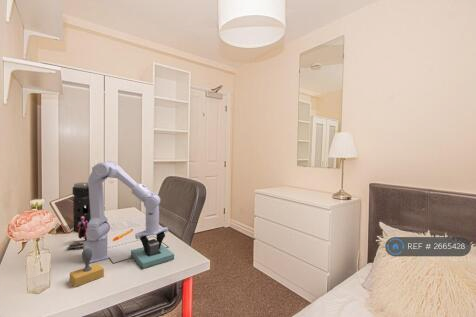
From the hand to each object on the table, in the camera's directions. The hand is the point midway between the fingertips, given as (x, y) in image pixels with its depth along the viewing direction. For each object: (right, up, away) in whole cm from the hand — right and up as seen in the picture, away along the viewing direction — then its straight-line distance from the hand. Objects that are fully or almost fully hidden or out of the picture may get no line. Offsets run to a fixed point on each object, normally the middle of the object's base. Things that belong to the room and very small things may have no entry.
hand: (152, 250), depth 110 cm
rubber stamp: (-18, -4, -18) cm, 26 cm away
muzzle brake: (-54, -1, +33) cm, 63 cm away
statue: (-40, -2, +11) cm, 42 cm away
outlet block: (0, -3, 0) cm, 3 cm away
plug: (0, -3, 0) cm, 3 cm away
